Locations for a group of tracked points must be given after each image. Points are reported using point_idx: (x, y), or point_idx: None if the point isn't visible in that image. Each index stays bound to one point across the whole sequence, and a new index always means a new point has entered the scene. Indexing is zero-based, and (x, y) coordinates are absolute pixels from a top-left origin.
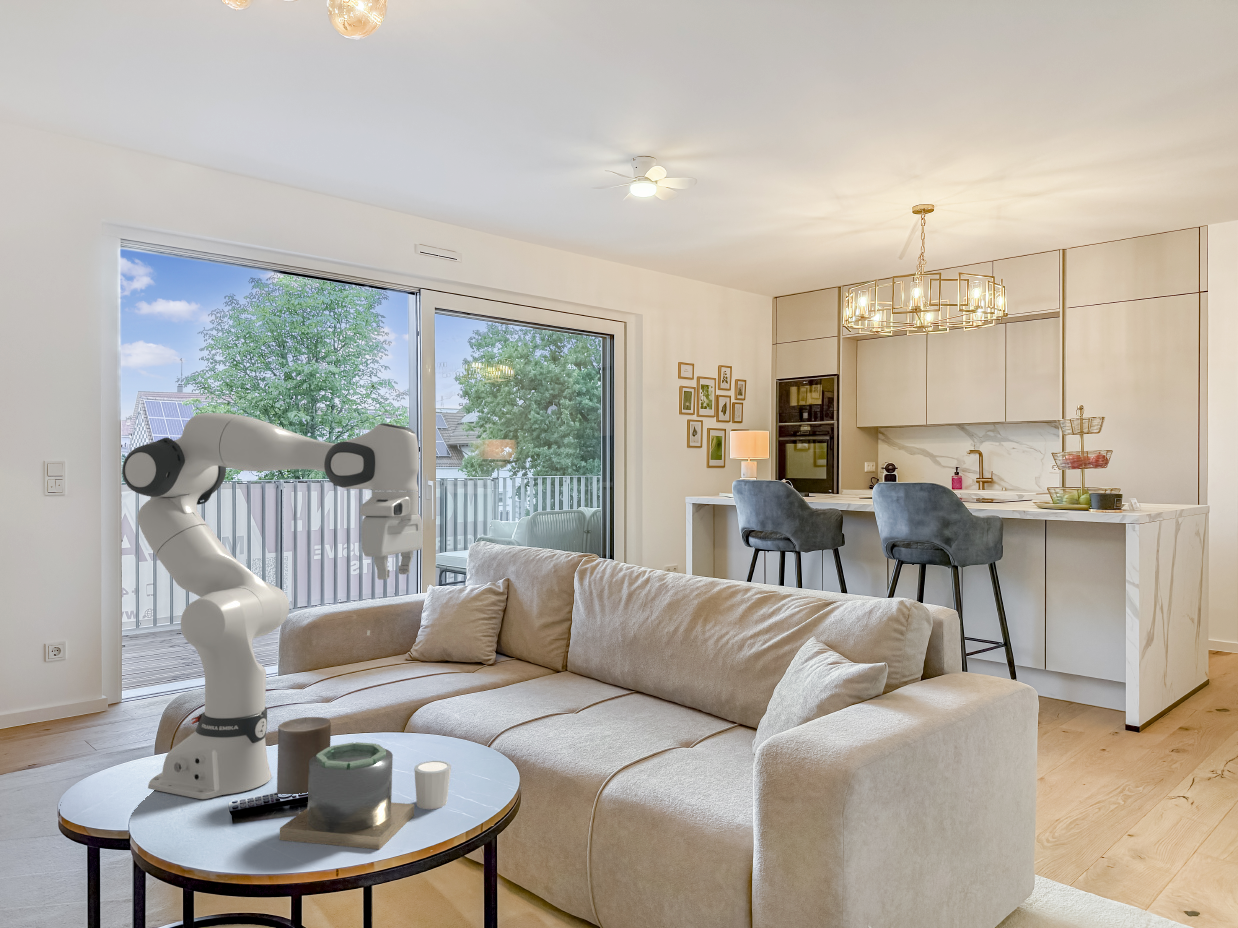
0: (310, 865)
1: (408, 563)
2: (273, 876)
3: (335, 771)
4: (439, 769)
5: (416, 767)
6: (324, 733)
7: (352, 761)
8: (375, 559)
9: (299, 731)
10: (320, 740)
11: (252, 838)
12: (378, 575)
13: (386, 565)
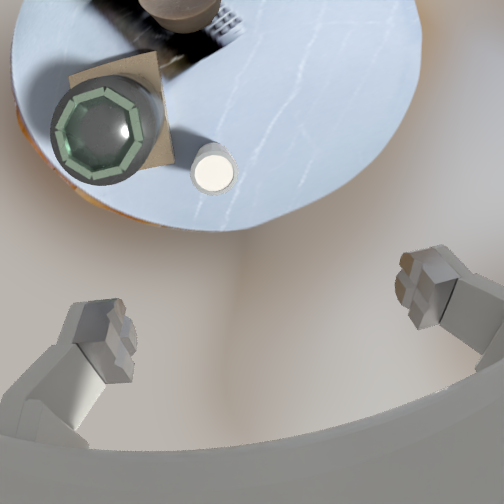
0: (48, 143)
1: (450, 327)
2: (24, 131)
3: (56, 150)
4: (208, 185)
5: (203, 156)
6: (176, 21)
7: (72, 160)
8: (5, 415)
9: (139, 2)
10: (167, 22)
11: (67, 49)
12: (71, 320)
13: (81, 413)
